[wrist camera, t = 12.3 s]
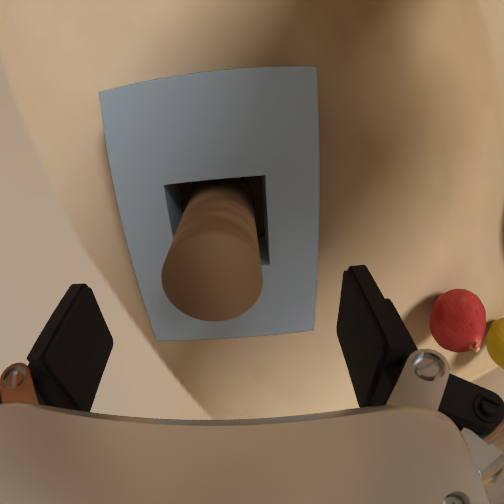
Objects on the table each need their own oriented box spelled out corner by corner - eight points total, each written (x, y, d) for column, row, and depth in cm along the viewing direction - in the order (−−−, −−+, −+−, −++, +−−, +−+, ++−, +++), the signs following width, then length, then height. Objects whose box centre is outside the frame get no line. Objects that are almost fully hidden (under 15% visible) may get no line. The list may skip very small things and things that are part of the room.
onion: (469, 271, 27) (513, 320, 19) (451, 316, 29) (486, 366, 22) (426, 274, 26) (470, 329, 19) (410, 322, 29) (443, 379, 22)
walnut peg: (250, 170, 21) (259, 231, 13) (254, 228, 23) (265, 318, 15) (186, 176, 21) (151, 241, 13) (195, 233, 23) (172, 323, 15)
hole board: (302, 71, 18) (316, 66, 15) (304, 299, 27) (313, 330, 23) (122, 90, 18) (98, 92, 15) (165, 309, 27) (156, 341, 23)
